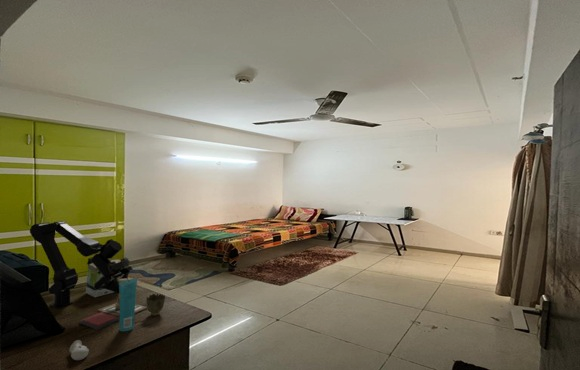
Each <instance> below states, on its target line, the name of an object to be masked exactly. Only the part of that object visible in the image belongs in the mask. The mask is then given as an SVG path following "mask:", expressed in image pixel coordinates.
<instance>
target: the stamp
mask: <svg viewBox="0 0 580 370" xmlns="http://www.w3.org/2000/svg"><path fill="white" fill-rule="evenodd" d="M126 280H129V278H128V279H127V278H124V279H119V280H118V285H119V282H122V281H126ZM115 303H116V304H115V311H119V310H120V297H119V293H117V300H116V302H115Z"/></svg>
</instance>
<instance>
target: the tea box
mask: <svg viewBox="0 0 580 370" xmlns="http://www.w3.org/2000/svg"><path fill="white" fill-rule="evenodd" d="M110 261H111V262H113V261H114V262H116V263H118V262H121V259H118V258H117V259H112V260H111V259H110ZM126 267H127V266H126ZM122 269H123V268H122ZM98 272H99V270H98V269H97V268H96V266H95V265H94V264H93V263H92V264H89V265H87V272H86V273H87V274H86V286H85V287H86V288H85V289H86V290H85V293H86V294H88V295H89V296H91V297H93V298H98V297H101V296H105V295H110V294H114V293H115V292H113V291H111V290H107V289H103V288H104V287H105V285H103V286H102V288H101V289H99V290H96V289H95V288H94V284H95V283H96V282H97V281H98V280H99V279H100V278H101V277H104V276H103V275H102V274H98ZM119 272H120V271H119ZM117 281H118V279H117Z"/></svg>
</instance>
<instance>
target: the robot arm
mask: <svg viewBox="0 0 580 370" xmlns="http://www.w3.org/2000/svg"><path fill="white" fill-rule="evenodd" d="M56 233H58V234H59V235H60V236H62V237H63V238H64V239H66V240H67V241H69V242H70V243H72V244H73V245H74V246H75V247H76V250H77V252H79V254H81V255H82V257H89V258H87V263H86V264H87V266H88V265H89V264H94V265H95V266H96V268H97V269H98V270H99V272H98V274H102V275H103V276H104V277H101V278H100V279H99V280H98V281H97V282H96V283H95V284H94V288H95V289H96V290H99V289H101V288H102V286H103V285H105V287H104V288H103V289H107V290H111V291H113V292H114V293H117V294H118V293H119V285H118V281H117V279H118V280H119V279H124V278H127V279H128V280H129V275H130V273H131V272H132V271H133V267H132V266H131V265H129V264H130V260H129V258H127V257H123V258H121V259H120V260H121V262H118V263H116V262H114V261H113V262H111V259H113V258H115V256H116V255H117V254H118V253H119V252H121V251H122V249H123V246H122V244H121V243H120V242H118V241H116V240H114V239H112V238H110V239H108V240H106V242H105V243H104V244H101V243H100V242H99V241H97V240H95V239H93V238H88V237H85V236H84V235H83V234H81V233H80V232H79V231H77V230H76V229H74V228H73V227H72V226H70V225H69V224H68V223H67V221H64V220H61V221H54V222H41V223H34V224H33V225H31V227H30V229H29V234H30V236H32V238H33V240H35V241H36V242H37V243H39V244H40V245H41V246H42V248H43V251H44V252H45V255H46V257H47V259H48V261H49V264H50V266H51V268H52V270H53V272H54V273H53V277H52V281H53V284H51V286H50V287H49V288H48V289H47V290H48V294H49V295H53V302H52V303H50V304H49V306H51V307H53V308H57V309H60V308H63V307H65V306H69V305H72V304H74V301H72V300H71V290H72V289H74V288H75V287H76V284H77V283H78V281H79V274H77V271H76V268H70V267H68V265H67V263H66V261H65V259H64V257H63V255H62V252H61V250H60V249H59V246H58V244H57V242H56V240H55V236H56ZM90 256H92V257H90ZM126 266H127V267H126ZM122 268H123V269H122ZM119 271H120V272H119Z"/></svg>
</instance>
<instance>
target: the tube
mask: <svg viewBox="0 0 580 370" xmlns="http://www.w3.org/2000/svg"><path fill="white" fill-rule="evenodd" d="M137 285H138V277H137V276H136V277H134V278H130V279H128V280H126V281H122V282H119V297H120V318H119V331H120V332H129V331H131V330H132V329H134V327H135V314H134V313H135V304H136V298H137V294H136V293H137Z"/></svg>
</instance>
